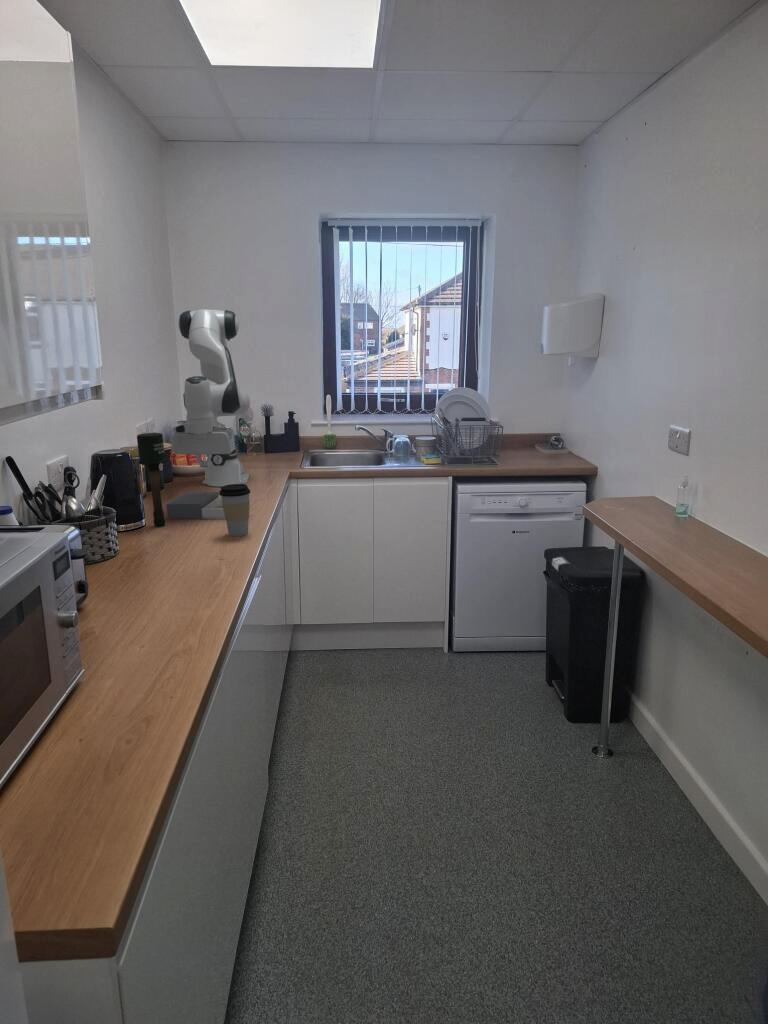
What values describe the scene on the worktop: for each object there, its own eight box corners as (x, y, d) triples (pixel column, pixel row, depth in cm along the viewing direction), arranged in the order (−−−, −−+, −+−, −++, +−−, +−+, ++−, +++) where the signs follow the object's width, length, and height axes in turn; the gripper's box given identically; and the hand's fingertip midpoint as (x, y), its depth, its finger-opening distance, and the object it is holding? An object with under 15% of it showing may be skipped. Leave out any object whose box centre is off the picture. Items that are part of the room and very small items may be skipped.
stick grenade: (165, 529, 214) (154, 436, 206) (140, 528, 216) (129, 436, 208) (178, 522, 222) (168, 432, 214) (154, 521, 224) (144, 432, 216)
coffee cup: (259, 530, 210) (255, 484, 206) (243, 539, 202) (239, 490, 198) (233, 528, 213) (229, 482, 209) (216, 536, 205) (212, 489, 201)
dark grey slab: (187, 505, 245) (186, 491, 244) (219, 505, 244) (218, 491, 242) (167, 518, 227) (166, 504, 226) (202, 518, 226) (200, 504, 225)
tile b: (234, 499, 232) (236, 506, 233) (218, 503, 233) (220, 510, 234) (229, 504, 226) (231, 511, 227) (212, 508, 227) (215, 514, 228)
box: (221, 504, 245) (220, 495, 244) (248, 504, 244) (247, 495, 243) (202, 519, 225) (201, 509, 224) (231, 519, 224) (230, 509, 224)
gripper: (234, 424, 225) (237, 464, 229) (175, 424, 227) (179, 464, 231) (228, 427, 219) (231, 468, 223) (168, 427, 221) (172, 468, 225)
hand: (204, 466), depth 227 cm, fingers closed
